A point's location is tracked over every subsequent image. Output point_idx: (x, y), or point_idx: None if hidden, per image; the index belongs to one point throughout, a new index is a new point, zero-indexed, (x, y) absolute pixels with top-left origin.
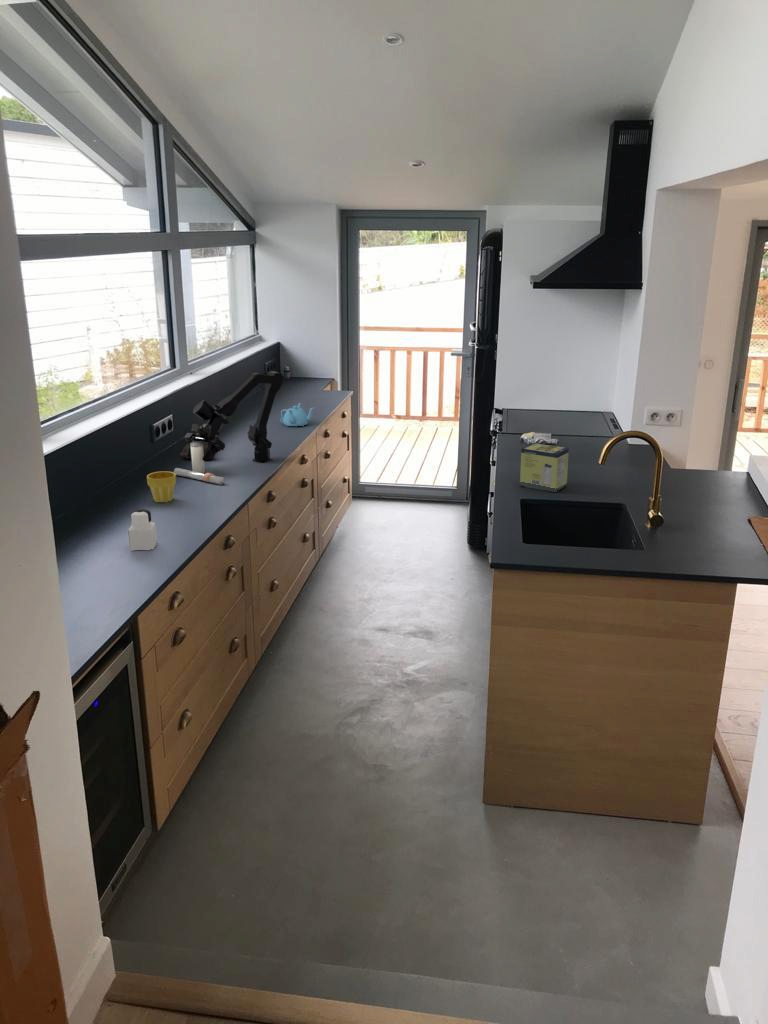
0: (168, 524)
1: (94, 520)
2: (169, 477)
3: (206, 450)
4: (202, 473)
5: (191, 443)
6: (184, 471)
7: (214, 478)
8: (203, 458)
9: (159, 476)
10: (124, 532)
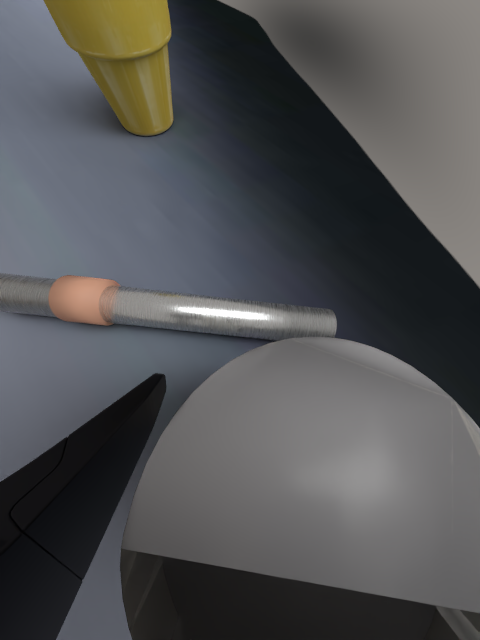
0: (32, 34)
1: (199, 24)
2: (105, 34)
3: (73, 463)
4: (132, 299)
5: (402, 391)
6: (259, 303)
7: (37, 277)
8: (149, 379)
9: (145, 20)
10: None
